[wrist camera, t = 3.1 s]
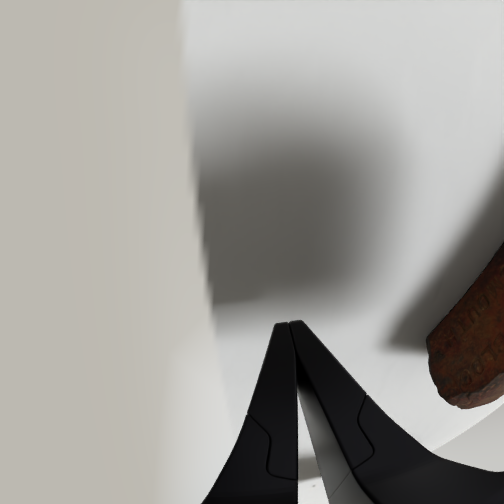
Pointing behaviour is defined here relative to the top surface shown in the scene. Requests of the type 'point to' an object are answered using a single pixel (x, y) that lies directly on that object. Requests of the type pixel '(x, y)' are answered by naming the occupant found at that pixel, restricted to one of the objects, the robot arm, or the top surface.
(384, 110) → the top surface
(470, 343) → the brick
